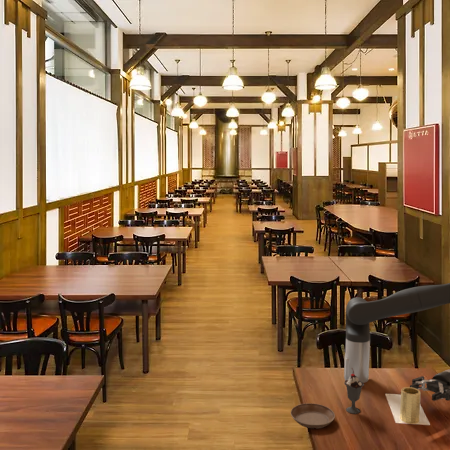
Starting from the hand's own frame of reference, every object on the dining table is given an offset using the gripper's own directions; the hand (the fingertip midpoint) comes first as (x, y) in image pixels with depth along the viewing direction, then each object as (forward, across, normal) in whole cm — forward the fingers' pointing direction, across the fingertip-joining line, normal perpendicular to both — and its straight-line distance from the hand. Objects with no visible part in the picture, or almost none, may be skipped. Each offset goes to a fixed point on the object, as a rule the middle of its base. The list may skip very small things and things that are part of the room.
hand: (421, 393), depth 182 cm
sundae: (+15, -17, +9) cm, 24 cm away
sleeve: (+6, 0, +8) cm, 10 cm away
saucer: (+32, -20, +9) cm, 39 cm away
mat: (0, -5, +8) cm, 10 cm away
